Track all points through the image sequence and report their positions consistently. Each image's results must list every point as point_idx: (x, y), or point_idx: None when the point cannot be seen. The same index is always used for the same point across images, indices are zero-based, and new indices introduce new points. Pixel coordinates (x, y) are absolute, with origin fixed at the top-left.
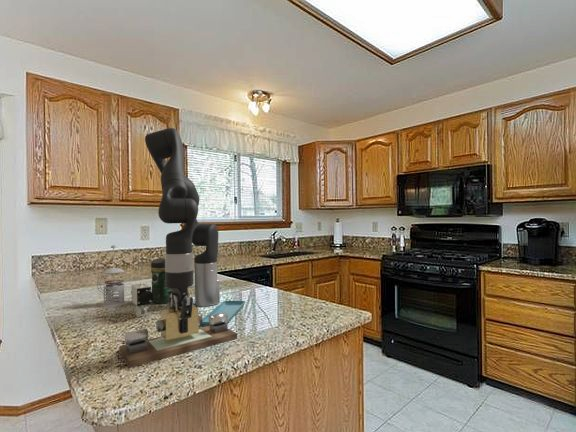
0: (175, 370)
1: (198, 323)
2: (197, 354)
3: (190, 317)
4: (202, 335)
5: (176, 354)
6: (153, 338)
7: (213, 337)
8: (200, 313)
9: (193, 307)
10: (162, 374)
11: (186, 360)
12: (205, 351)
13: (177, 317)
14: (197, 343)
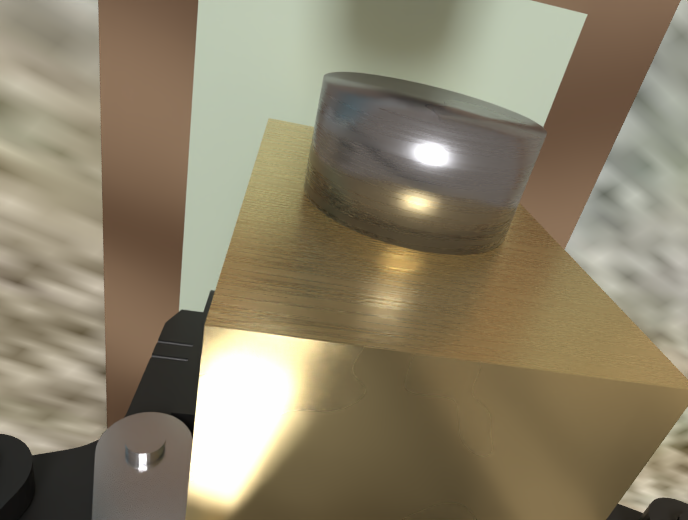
0: (659, 446)
1: (523, 207)
2: (625, 266)
3: (686, 512)
4: (451, 73)
5: None
6: (113, 410)
7: (611, 5)
8: (504, 155)
9: (509, 434)
10: (627, 494)
11: None
12: (648, 194)
13: None
14: (568, 233)
